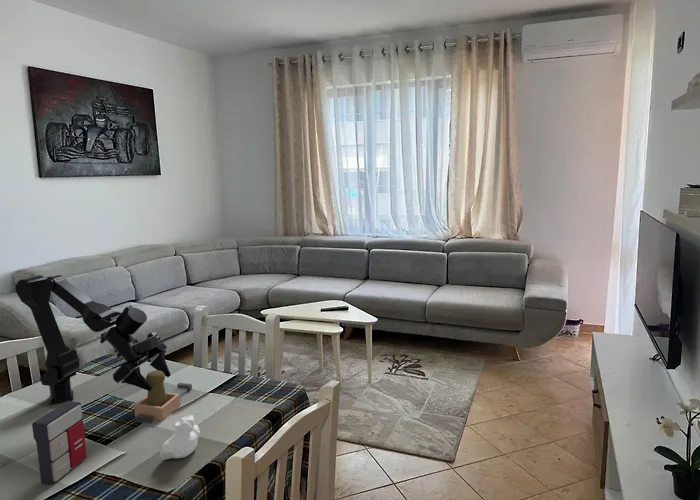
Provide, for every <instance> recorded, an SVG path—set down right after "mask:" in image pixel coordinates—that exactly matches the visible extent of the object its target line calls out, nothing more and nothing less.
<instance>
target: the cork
mask: <svg viewBox="0 0 700 500" xmlns="http://www.w3.org/2000/svg"><path fill="white" fill-rule="evenodd" d="M145 379H146V381H147V382H148V383H149V384H150V386H151V387H152V389H151V390H150V391H148V390H147V395H148V397H147V405H151V406H159V407H162V406H163V405H164V404H165V403H167V402H168V401H167V396H166V388H165V385H164V384H165V383H164V382H165V379H166V376H165V375H164V373H163V372H162V371H159V370H156V369H155V370H152V371H149V372H148V373H147V374H146V377H145Z"/></svg>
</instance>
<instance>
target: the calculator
mask: <svg viewBox="0 0 700 500" xmlns="http://www.w3.org/2000/svg"><path fill="white" fill-rule="evenodd" d="M31 428H32V436H33V439H34V441H35V443H36V449H37V450H36V451H37V458H38V466H39V467H38V468H39V477H40V482H41V483H42V484H49V485H54V484H55V483H57V481H58V480H60V479H61V478H62V477H63V476H65V475H66V474H67V473H69V472H70V471H71V470H72V469H74V468H75V467H76V466H78V464H80V463H81V462H83V460H85V459H86V458H87V457H88V456H87V446H86V437H85V436H86V435H85V425H84V421H83V410H82V404H81V402H80V401H74V400H71V401H66V402H63V403H62V404H61V405H59V406H57V407H56V408H54V409H53V410H51V411H49V412H48V413H46V414H44V415H42V416H41V417H39V418H38V419H36V420H35V421H33V422H32V424H31ZM71 468H72V469H71ZM70 469H71V470H70Z"/></svg>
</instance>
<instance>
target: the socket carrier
mask: <svg viewBox="0 0 700 500" xmlns="http://www.w3.org/2000/svg"><path fill="white" fill-rule="evenodd" d="M165 392H166V391H165ZM166 396H167V401H168V402H167V403H165V404H164V405H163V406H162V407H159V406H151V405H147V397H148V394H147V395H145V396H144V397H143V398H142V399H140V400H139V401H137V402H136V403H134V405H133V408H134V409H133V410H134V417H135V418H136V416H137V415H138V414H142V415H150V416H154V420H157V421H164V420H165V419H167V418H168V417H169V416H170V415H171V414H173V412H175V411H176V410H177V409H178V408H180V407H181V398H180V394H176V393H172V392H168V391H167V392H166Z"/></svg>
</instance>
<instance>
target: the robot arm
mask: <svg viewBox="0 0 700 500" xmlns="http://www.w3.org/2000/svg"><path fill="white" fill-rule="evenodd" d="M14 290H15V292H16V294H17V295H18V297H19V300H20V302H22V303H23V304H24V305H25V306H27V307H28V308H29V309H30V311H31V314H32V316H33V318H34V320H35V323H36V326H37V328H38V331H39V335H40V336H41V339H42V342H43V345H44V347H45V349H46V352H47V353H46V358H45V367H46V371H45V372H44V373H43V375H42V376H41V377H40V378H39V381H40V383H41V385H42V386H47V387H48V386H49V389H48V390H49V397H48V404H49V406H50V405H55V404H60V403H65V402H67V401H74V390H72V383H71V382H72V381H71V378H73V377H75V376H76V375H77V372H78V370H79V367H80V360H81V359H80V357H79V356H78V353H77V350H76V348H72V349H71V348H69V347H68V346H67V345H66V343H65V341H64V338H63V336H62V333H61V330H60V327H59V325H58V322H57V320H56V318H55V313H54V312H53V310H52V306H51V304H50V299H51V294H52V293H53V294H55V296H57V297H58V298H59V299H61V300H62V301H63V302H65V304H67V305H68V306H70V307H71V308H72V309H73V310H75V311H76V312H77V313H78V314H80V316H81V317H82V321H83V323H84V324H85V325H86V326H87V327H88V328H89V329H90V331H92V332H94V333H100V344H103V343H105V342H108V343H109V344H110V345H111V347H112V348H113V349H114V350H115V351H116V352H117V354H116V355H115V356H116V357H117V358H120V357H122V359H123V360H124V361H125V362H124V363H122V364H121V365H120V366H119V367H118V368H117V369H116V370H115V372H113V374H112V379H113V380H114V382H116V383H117V384H119V383H120V382H121V384H127V385H131V386H135V387H137V388H140V389H143V390H146V391H147V392H148V391H150V390H151V389H152V387H151V386H150V384H149V383H148V382H147V381H146V377H144V375H143V374H142V373H141V367H140V366H141V365H143V364H145V363H146V362H147V363H149V366H151V367H152V368H153V369H154V370H155V371H156V370H159V371H162V372H163V373H164V375H165V377H167V378H170V376H171V372H170V370H169V367H168V365H167V362H166V358H165V356H166V353H167V348H168V347H167V345H166V344H165V343H164V342H160V340H161V336H160V335H159V334H158V333H157V332H156V331H155V330H153V331H151V332H150V333H148V334H147V338H144V339H141V338H139V337H137V338H135V337H133V335H135V334H136V332H138V331H139V329H140V328H141V327H143V325H144V324H145V323H146V321H147V320H148V317H147V314H146V312H145V311H143V310H141V309H140V308H137V307H133V306H132V305H130V304H129V305H128V306H127V305H126V306H125V307H124V309H123V310H122V312H120V311H116V310H114V309H113V308H112V307H110V306H108V305H106V304H104V303H99V302H96V301H94V300H93V299H91V298H90V297H89V296H88V295H86V293H83V292H82V291H81V290H80V289H78V288H77V287H76V286H75V285H74V284H72V283H70V281H68V279H67V278H66V277H65V276H64V275H60V274H58V275H51V276H44V275H34V276H30V277H25V278H23V279H20V280H18V281H17V283H16V285H15V289H14ZM107 329H108V330H107ZM104 330H105V331H104ZM106 330H107V331H106ZM103 331H104V332H103ZM101 332H103V333H101Z"/></svg>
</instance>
